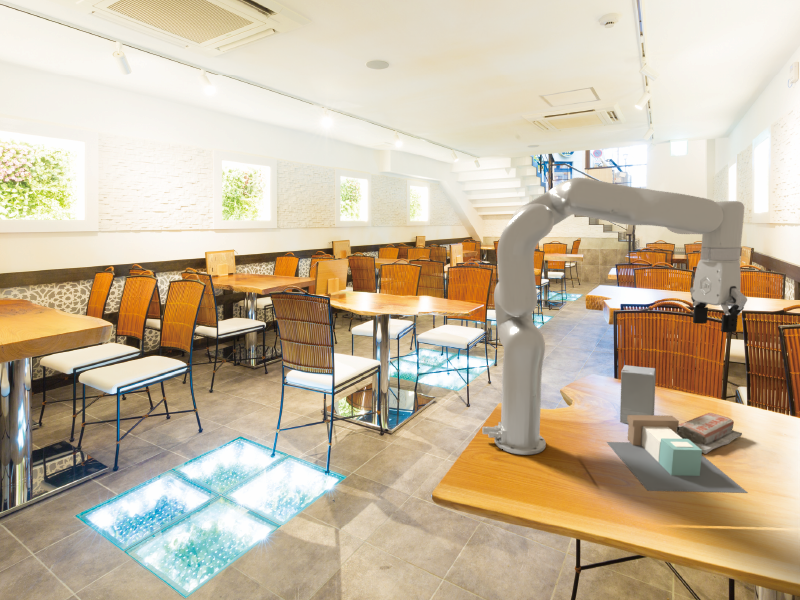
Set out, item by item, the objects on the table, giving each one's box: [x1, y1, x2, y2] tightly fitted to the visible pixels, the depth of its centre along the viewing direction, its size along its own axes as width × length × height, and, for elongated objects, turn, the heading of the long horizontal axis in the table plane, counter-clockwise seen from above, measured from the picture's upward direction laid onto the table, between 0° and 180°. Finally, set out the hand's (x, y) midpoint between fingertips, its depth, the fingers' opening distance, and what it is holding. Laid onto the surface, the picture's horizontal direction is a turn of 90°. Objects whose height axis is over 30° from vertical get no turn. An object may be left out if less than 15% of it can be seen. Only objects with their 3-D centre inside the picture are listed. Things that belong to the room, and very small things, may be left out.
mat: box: [606, 441, 748, 494], centre depth 105 cm, size 20×22×1 cm
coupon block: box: [627, 414, 682, 462], centre depth 112 cm, size 11×12×7 cm
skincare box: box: [619, 364, 657, 425], centre depth 128 cm, size 8×7×16 cm
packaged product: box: [676, 412, 743, 455], centre depth 118 cm, size 18×5×10 cm
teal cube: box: [659, 438, 703, 476], centre depth 103 cm, size 6×5×6 cm
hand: (713, 327), depth 109 cm, fingers open, 9 cm apart
